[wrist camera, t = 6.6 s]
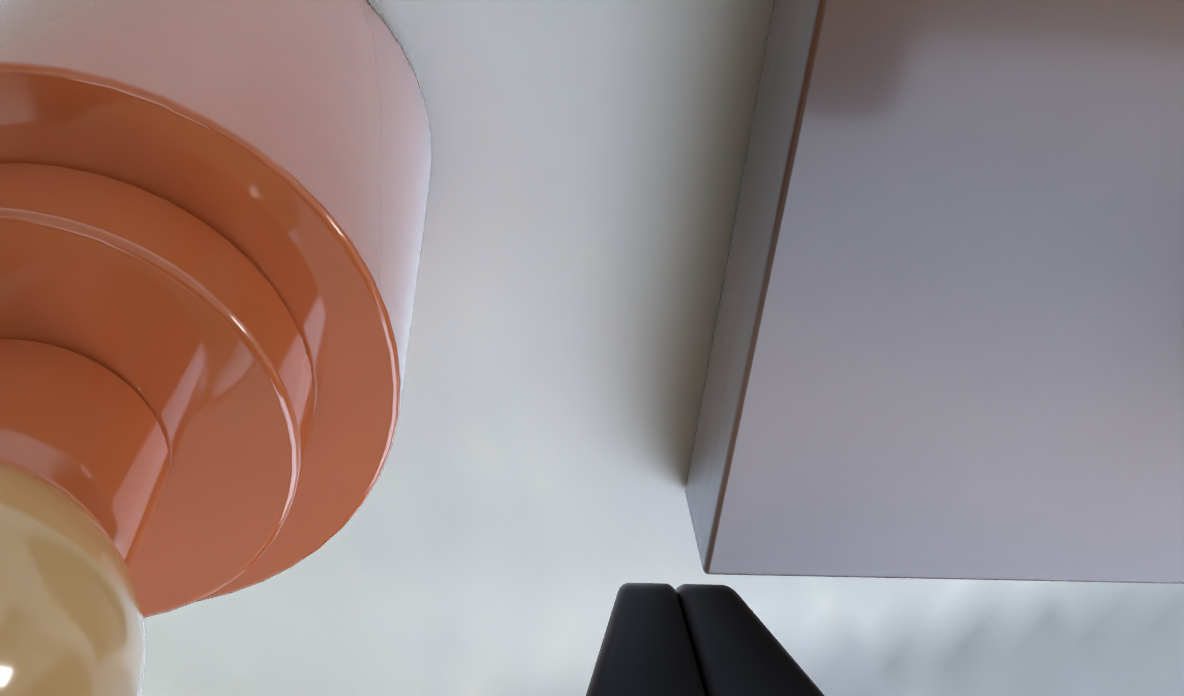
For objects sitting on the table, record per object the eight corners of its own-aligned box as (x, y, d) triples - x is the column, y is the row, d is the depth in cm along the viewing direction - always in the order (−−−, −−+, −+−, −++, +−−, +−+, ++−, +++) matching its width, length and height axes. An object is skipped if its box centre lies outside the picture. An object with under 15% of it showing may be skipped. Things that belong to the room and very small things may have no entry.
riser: (1207, 507, 20) (1275, 587, 19) (683, 492, 19) (703, 576, 17) (1571, -205, 14) (1725, -186, 12) (824, -289, 13) (878, -283, 11)
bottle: (376, 262, 19) (-186, 360, 15) (363, -105, 16) (-349, -95, 12) (771, 762, 11) (-241, 1237, 7) (910, 202, 8) (-803, 531, 4)
